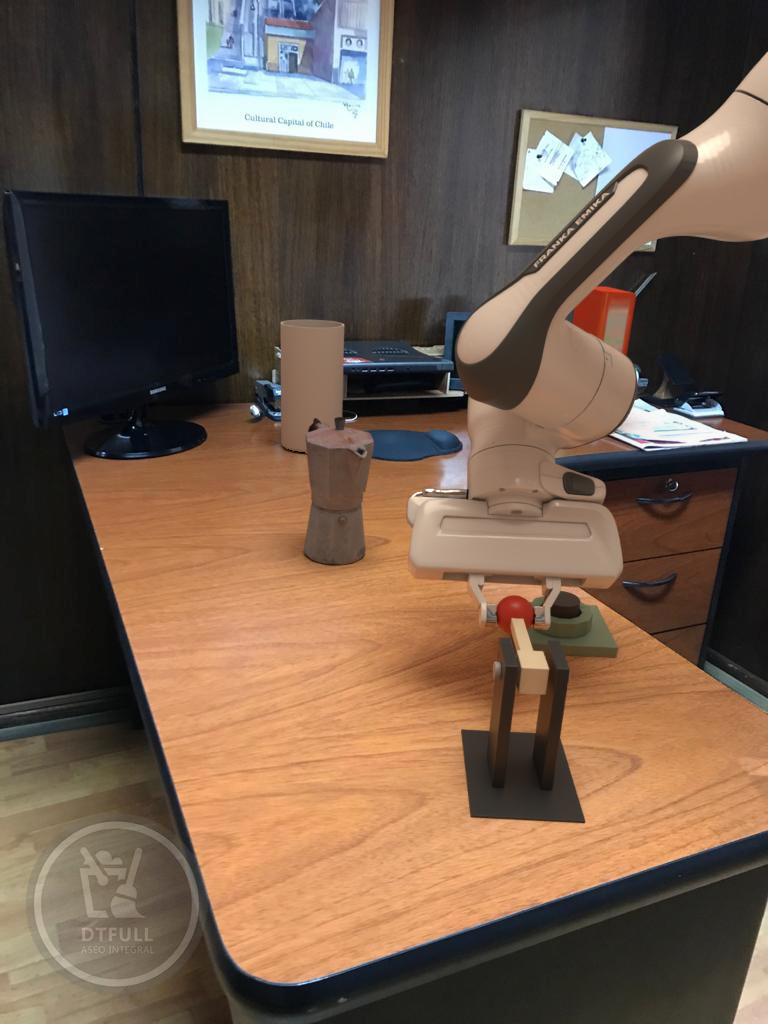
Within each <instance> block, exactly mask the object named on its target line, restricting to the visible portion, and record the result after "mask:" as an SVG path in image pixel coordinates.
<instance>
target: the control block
mask: <svg viewBox="0 0 768 1024" xmlns="http://www.w3.org/2000/svg"><path fill="white" fill-rule="evenodd" d="M544 597H545V596H543V595H542V596H538V597H535V598H534V599H533V600H532V601H529V603H530V604H531V605H532V607H533V608H534V606H536V607H542V606H543V604H544ZM550 619H551V623H550V627H549V629H548V630H541V629H532V628H531V626H530V628H529V629H528V630H527V632H528V635H529V639H530V642H531V645H532V648H533V651H543V652H544V655H546V650H547V642H548V640H556V641H560V644H561V646H562V649H563V652H564V654H565V656H578V657H579V656H580V657H598V658H618V657H617V656H618V650H619V647H618V645H617V643H616V641H615V639H614V637H613V635H612V632H611V631H610V629H609V627H608V625H607V623H606V621H605V619H604V617H603V615H602V613H601V611H600V609H599V607H598V605H596V604H585V603H583V602H582V601H581V600H580V608H579V615H578V617H576V618H572V619H561V618H556V617H553V616H550ZM510 635H511V640H512V644H513V648H514V652H515V653H516V652H517V650H516V646H515V643H514V639H513V635H512V634H510Z"/></svg>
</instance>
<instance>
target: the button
mask: <svg viewBox="0 0 768 1024" xmlns="http://www.w3.org/2000/svg"><path fill="white" fill-rule="evenodd" d="M547 597H548V595H547V596H545V597H544V603H545V601H546V599H547ZM580 601H581V598H580V597H578V596H577V595H576V594H575V593H572V592H569V591H564V590H561V591H560V593H559V594H558V596H557V598H556V600H555V601H554V603H553V605H552V607H551V608H550V616H553V617H556V618H561V619H572V618H576V617H578V615H579V608H580Z"/></svg>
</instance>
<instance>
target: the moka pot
mask: <svg viewBox="0 0 768 1024" xmlns="http://www.w3.org/2000/svg"><path fill="white" fill-rule="evenodd" d="M346 420H347V419H346V418H345V417H344V416H342V417H337V418H335V419H334V421H335V427H330V426H329V425H328V424H326V423H321V422H320V421H319V419H317V418H314V420H313V424H312V425H311V426H310V427H309V430H308V433H306V434H305V438H306V449H307V453H306V455H307V456H306V458H307V469H308V479H309V486H310V496H311V497H310V501H311V503H310V510H309V515H308V521H307V527H306V528H307V529H306V533H305V538H304V545H303V553H304V554H305V556H306V557H308V559H310V560H312V561H314V562H317V563H320V564H323V565H331V566H334V565H335V566H336V565H337V566H342V565H349V564H352V563H356V562H358V561H359V560H361V559H363V557H365V555H366V541H365V540H366V539H365V527H364V517H363V516H364V515H363V505H362V504H363V499H364V493H366V490H367V487H368V480H369V475H370V469H371V462H372V458H373V454H374V447H375V441H374V438H373V437H372V433H370V432H367V431H364V430H360V429H357V428H353V427H345V425H346Z"/></svg>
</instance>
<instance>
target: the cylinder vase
mask: <svg viewBox="0 0 768 1024" xmlns="http://www.w3.org/2000/svg"><path fill="white" fill-rule="evenodd" d="M344 353H345V324H344V323H342V322H338V321H334V320H325V319H324V320H323V319H290V320H283V321H280V443H281V445H282V447H283V448H284V447H285V449H286V450H288V449H289V450H288V451H290V450H292V451H291V452H294V451H298V452H307V449H306V438H305V434H306V433H308V430H309V427H310V426H311V425H312V424H313V420H314V418H317V419H319V421H320V422H321V423H326V424H328V425H329V426H330V427H335V421H334V419H335V418H337V417H343V401H344V399H343V397H344V391H343V390H344V361H345V360H344ZM298 452H297V453H298Z"/></svg>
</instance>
